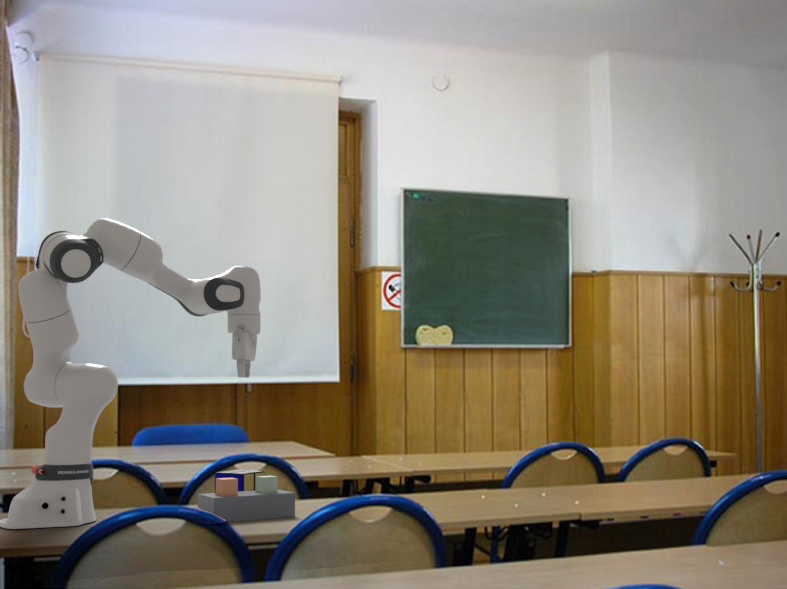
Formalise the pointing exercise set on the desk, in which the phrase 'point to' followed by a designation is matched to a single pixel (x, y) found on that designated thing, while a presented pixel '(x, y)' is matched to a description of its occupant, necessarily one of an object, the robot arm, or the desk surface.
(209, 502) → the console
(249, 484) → the puzzle cube
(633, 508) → the desk surface
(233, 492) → the salmon orange block
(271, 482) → the pale green block
